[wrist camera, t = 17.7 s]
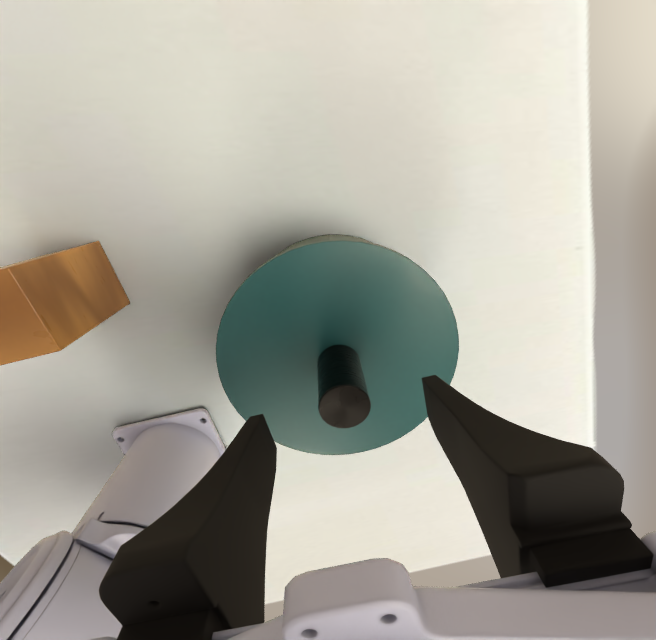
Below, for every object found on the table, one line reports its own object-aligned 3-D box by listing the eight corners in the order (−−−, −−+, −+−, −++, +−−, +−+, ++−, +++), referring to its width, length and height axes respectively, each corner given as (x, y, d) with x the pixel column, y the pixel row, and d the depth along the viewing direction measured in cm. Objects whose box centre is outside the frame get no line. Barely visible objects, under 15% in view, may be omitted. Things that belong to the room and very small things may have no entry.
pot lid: (460, 418, 22) (500, 482, 17) (263, 461, 23) (250, 534, 18) (438, 207, 17) (486, 218, 12) (182, 272, 18) (134, 307, 13)
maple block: (130, 302, 23) (60, 350, 17) (72, 317, 24) (-20, 370, 17) (99, 240, 22) (7, 267, 15) (36, 257, 22) (-81, 290, 15)
